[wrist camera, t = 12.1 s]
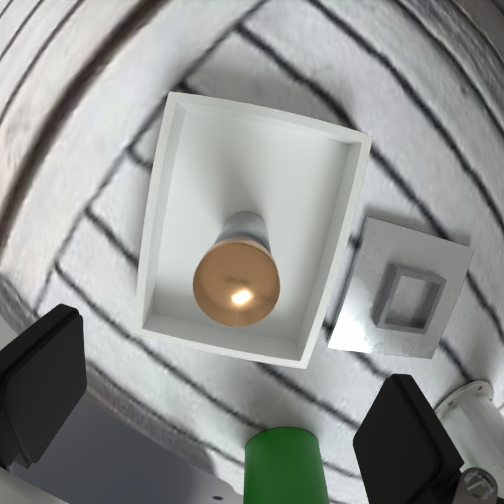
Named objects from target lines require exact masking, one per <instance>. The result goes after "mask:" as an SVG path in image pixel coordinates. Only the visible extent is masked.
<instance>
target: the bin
mask: <svg viewBox="0 0 504 504" xmlns="http://www.w3.org/2000/svg"><path fill="white" fill-rule="evenodd" d="M372 138H373V136H371V135H368V134H365V133H362V132H358V131H355V130H352V129H349V128H346V127H342V126H339V125H335V124H332V123H328V122H325V121H321V120H318V119H314V118H310V117H306V116H302V115H298V114H294V113H290V112H286V111H282V110H277V109H273V108H268V107H264V106H259V105H254V104H249V103H244V102H238V101H233V100H227V99H221V98H215V97H208V96H201V95H194V94H187V93H179V92H170V91H169V94H168V99H167V103H166V107H165V111H164V115H163V120H162V124H161V129H160V133H159V138H158V143H157V148H156V153H155V158H154V164H153V169H152V175H151V180H150V186H149V192H148V198H147V205H146V212H145V219H144V226H143V233H142V241H141V250H140V259H139V268H138V279H137V290H136V303H135V318H134V334H137V335H140V336H144V337H148V338H151V339H155V340H159V341H163V342H167V343H171V344H175V345H179V346H184V347H188V348H192V349H197V350H201V351H206V352H210V353H215V354H220V355H225V356H230V357H235V358H240V359H246V360H251V361H257V362H262V363H268V364H274V365H281V366H287V367H294V368H301V369H306V368H307V365H308V363H309V360H310V357H311V354H312V352H313V349H314V346H315V343H316V340H317V337H318V335H319V332H320V329H321V326H322V323H323V320H324V317H325V314H326V311H327V308H328V305H329V302H330V299H331V295H332V292H333V289H334V286H335V283H336V279H337V276H338V273H339V269H340V266H341V263H342V259H343V256H344V252H345V249H346V245H347V242H348V238H349V234H350V231H351V227H352V223H353V220H354V216H355V212H356V208H357V204H358V200H359V196H360V192H361V188H362V183H363V179H364V175H365V171H366V166H367V162H368V157H369V152H370V148H371V143H372ZM239 211H251V212H254V213H256V214H258V215H259V216H260V217H261V218H262V219H263V220H264V222H265V224H266V227H267V232H268V237H269V243H270V249H271V255H272V257H273V259H274V260H275V263H276V265H277V269H278V274H279V279H280V294H279V298H278V301H277V303H276V305H275V307H274V308H273V310H272V311H271V312H270V313H269V315H267V316H266V317H265V318H264V319H262V320H261V321H259V322H257V323H255V324H252V325H248V326H242V327H233V326H227V325H223V324H220V323H218V322H216V321H214V320H212V319H211V318H210V317H208V316H207V315H206V314H205V313H204V312H203V311H202V310H201V308H200V307H199V305H198V304H197V302H196V300H195V296H194V293H193V277H194V273H195V271H196V268H197V266H198V265H199V263H200V261H201V259H202V258H203V256H204V254H205V253H206V252H207V251H208V250H209V249H210V248H211V247H212V246H213V245H214V243H215V241H216V239H217V237H218V236H219V234H220V232H221V230H222V228H223V226H224V224H225V223H226V221H227V220H228V218H229V217H230V216H231V215H233V214H234V213H237V212H239Z"/></svg>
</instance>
